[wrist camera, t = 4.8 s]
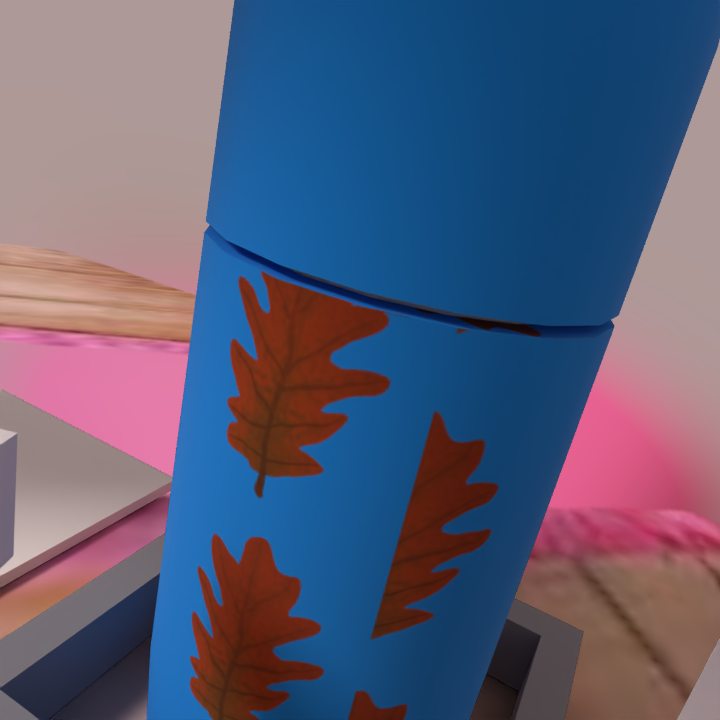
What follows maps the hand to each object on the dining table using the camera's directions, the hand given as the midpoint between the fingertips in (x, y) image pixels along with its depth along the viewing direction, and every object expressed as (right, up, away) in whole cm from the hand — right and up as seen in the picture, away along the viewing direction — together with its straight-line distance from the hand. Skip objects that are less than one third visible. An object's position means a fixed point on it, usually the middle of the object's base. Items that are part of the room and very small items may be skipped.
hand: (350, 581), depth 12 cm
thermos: (-2, -9, +11) cm, 15 cm away
